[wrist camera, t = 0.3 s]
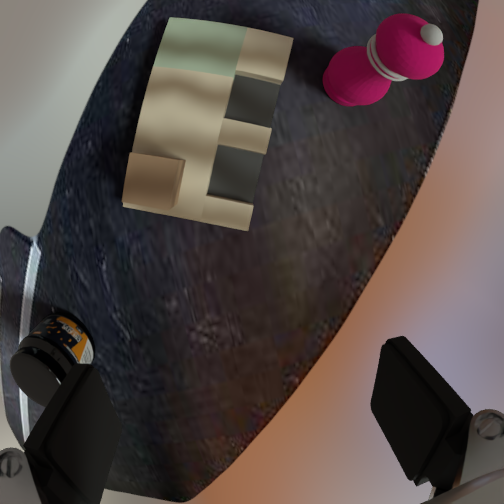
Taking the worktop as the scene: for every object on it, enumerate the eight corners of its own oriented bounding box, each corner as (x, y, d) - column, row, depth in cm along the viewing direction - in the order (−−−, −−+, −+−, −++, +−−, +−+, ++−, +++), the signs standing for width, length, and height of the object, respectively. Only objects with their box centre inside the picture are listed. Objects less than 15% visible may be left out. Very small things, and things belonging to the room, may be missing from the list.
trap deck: (173, 25, 29) (169, 17, 27) (289, 45, 31) (293, 38, 28) (129, 203, 35) (122, 206, 33) (246, 226, 37) (247, 231, 35)
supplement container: (110, 347, 41) (82, 398, 30) (76, 373, 43) (49, 419, 31) (63, 297, 38) (22, 337, 27) (34, 329, 40) (-2, 368, 28)
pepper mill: (313, 59, 32) (383, -17, 12) (364, 58, 32) (456, 1, 13) (324, 112, 34) (412, 72, 15) (375, 109, 34) (482, 81, 15)
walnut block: (143, 153, 31) (130, 152, 27) (185, 160, 32) (178, 159, 27) (136, 196, 33) (121, 201, 28) (177, 203, 33) (168, 210, 29)
